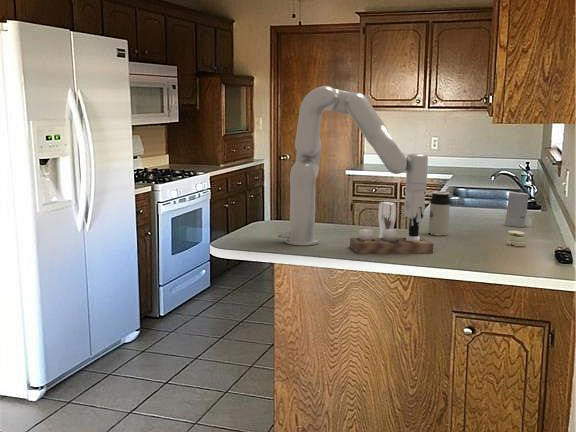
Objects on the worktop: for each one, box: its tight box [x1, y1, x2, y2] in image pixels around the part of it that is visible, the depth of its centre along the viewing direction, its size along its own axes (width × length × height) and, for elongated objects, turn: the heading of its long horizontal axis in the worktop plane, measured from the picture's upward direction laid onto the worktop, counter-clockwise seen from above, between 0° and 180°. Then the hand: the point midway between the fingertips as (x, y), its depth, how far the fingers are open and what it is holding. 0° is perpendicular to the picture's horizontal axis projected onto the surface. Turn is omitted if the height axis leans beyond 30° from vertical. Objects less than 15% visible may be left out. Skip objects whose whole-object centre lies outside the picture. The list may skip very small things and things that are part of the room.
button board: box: [349, 237, 434, 255], centre depth 234 cm, size 28×12×4 cm, turn 98°
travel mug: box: [428, 190, 451, 236], centre depth 269 cm, size 8×8×18 cm
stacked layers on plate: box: [506, 230, 527, 247], centre depth 250 cm, size 10×9×6 cm
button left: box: [358, 228, 374, 241], centre depth 234 cm, size 5×5×4 cm
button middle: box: [383, 228, 398, 241], centre depth 235 cm, size 5×5×4 cm
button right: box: [405, 234, 421, 241], centre depth 237 cm, size 5×5×4 cm
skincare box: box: [504, 191, 530, 228], centre depth 297 cm, size 8×7×16 cm
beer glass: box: [377, 201, 397, 238], centre depth 252 cm, size 7×7×15 cm
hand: (413, 236), depth 237 cm, fingers closed
